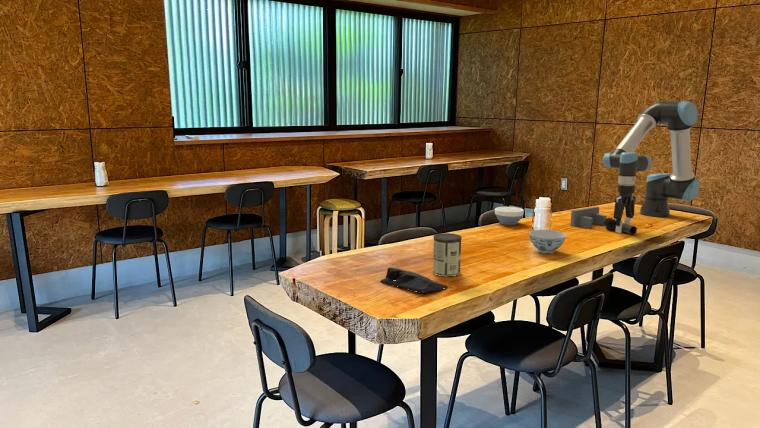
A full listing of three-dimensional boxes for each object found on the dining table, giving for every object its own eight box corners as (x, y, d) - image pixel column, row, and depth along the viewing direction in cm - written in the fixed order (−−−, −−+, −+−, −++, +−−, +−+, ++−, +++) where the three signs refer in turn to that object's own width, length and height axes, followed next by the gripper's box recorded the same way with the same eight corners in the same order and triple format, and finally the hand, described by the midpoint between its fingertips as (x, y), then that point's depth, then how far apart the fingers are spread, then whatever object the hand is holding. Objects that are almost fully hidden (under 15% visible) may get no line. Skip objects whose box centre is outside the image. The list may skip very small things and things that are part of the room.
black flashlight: (636, 234, 264) (637, 223, 263) (626, 235, 262) (627, 224, 260) (608, 226, 280) (609, 215, 279) (598, 227, 277) (599, 216, 276)
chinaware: (549, 245, 244) (550, 228, 242) (572, 254, 230) (573, 236, 229) (520, 248, 239) (521, 231, 237) (542, 257, 225) (543, 239, 223)
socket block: (594, 221, 293) (596, 206, 291) (609, 224, 285) (611, 209, 284) (570, 225, 282) (571, 210, 280) (585, 229, 275) (586, 213, 273)
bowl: (528, 223, 286) (529, 209, 285) (513, 228, 276) (514, 213, 274) (503, 219, 296) (504, 205, 295) (488, 223, 286) (489, 209, 284)
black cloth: (419, 299, 179) (420, 285, 178) (376, 282, 196) (376, 269, 195) (451, 289, 189) (452, 276, 188) (408, 273, 206) (408, 261, 205)
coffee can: (443, 267, 212) (444, 231, 209) (465, 272, 205) (467, 236, 202) (426, 273, 205) (427, 236, 202) (449, 279, 198) (451, 241, 195)
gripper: (621, 187, 256) (617, 235, 260) (645, 184, 266) (641, 230, 271) (607, 185, 262) (603, 232, 266) (630, 182, 272) (626, 228, 277)
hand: (622, 231), depth 268 cm, fingers closed on black flashlight, 6 cm apart
